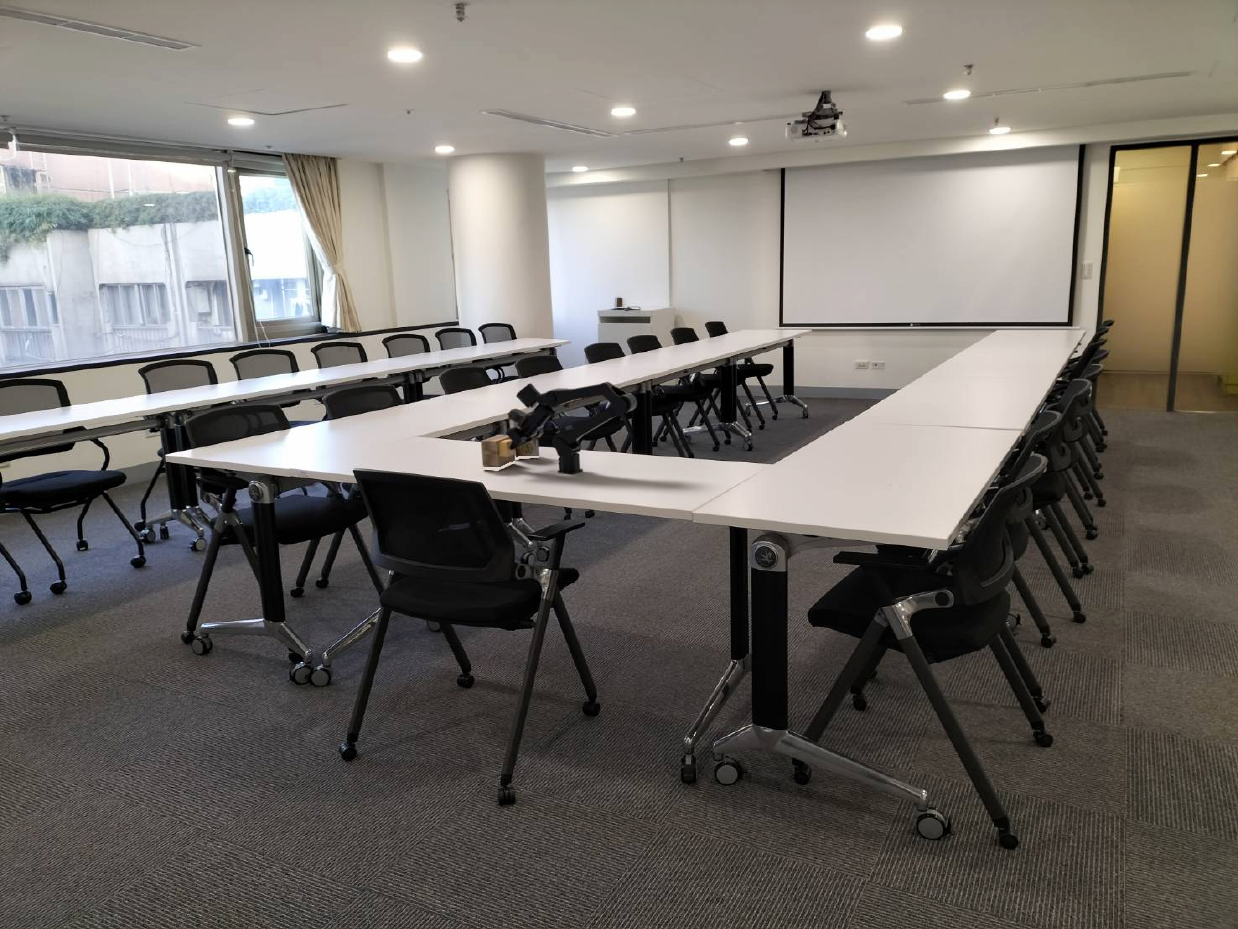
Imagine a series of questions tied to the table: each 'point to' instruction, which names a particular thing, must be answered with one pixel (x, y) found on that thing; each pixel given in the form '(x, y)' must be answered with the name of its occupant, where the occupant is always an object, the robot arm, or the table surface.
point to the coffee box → (526, 445)
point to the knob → (505, 448)
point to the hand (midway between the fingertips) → (510, 449)
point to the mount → (494, 452)
